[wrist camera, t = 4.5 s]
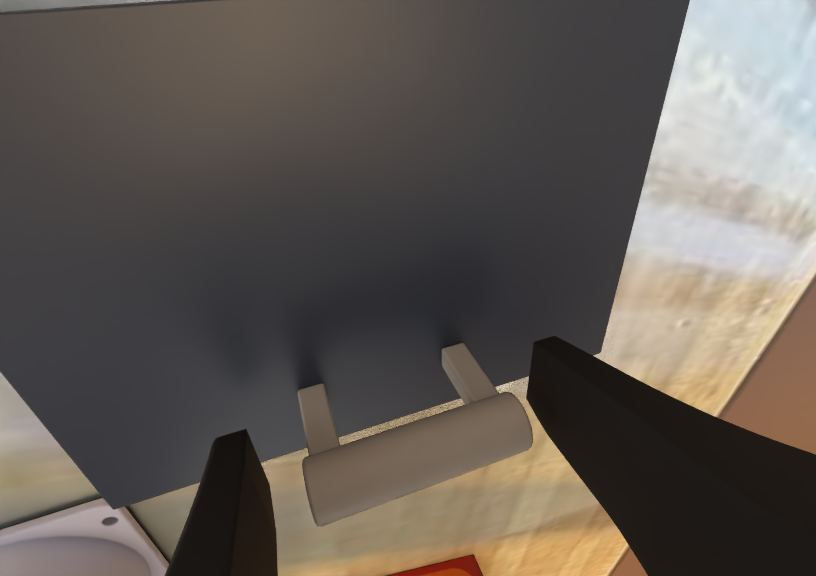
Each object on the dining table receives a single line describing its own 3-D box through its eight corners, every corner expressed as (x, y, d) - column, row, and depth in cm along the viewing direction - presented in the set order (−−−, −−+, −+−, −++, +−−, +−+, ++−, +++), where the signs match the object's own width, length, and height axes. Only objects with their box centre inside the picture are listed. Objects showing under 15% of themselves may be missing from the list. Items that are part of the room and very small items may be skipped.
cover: (587, 340, 15) (683, 430, 12) (117, 487, 12) (76, 670, 9) (672, -33, 9) (906, -54, 6) (-232, 28, 6) (-822, 56, 3)
